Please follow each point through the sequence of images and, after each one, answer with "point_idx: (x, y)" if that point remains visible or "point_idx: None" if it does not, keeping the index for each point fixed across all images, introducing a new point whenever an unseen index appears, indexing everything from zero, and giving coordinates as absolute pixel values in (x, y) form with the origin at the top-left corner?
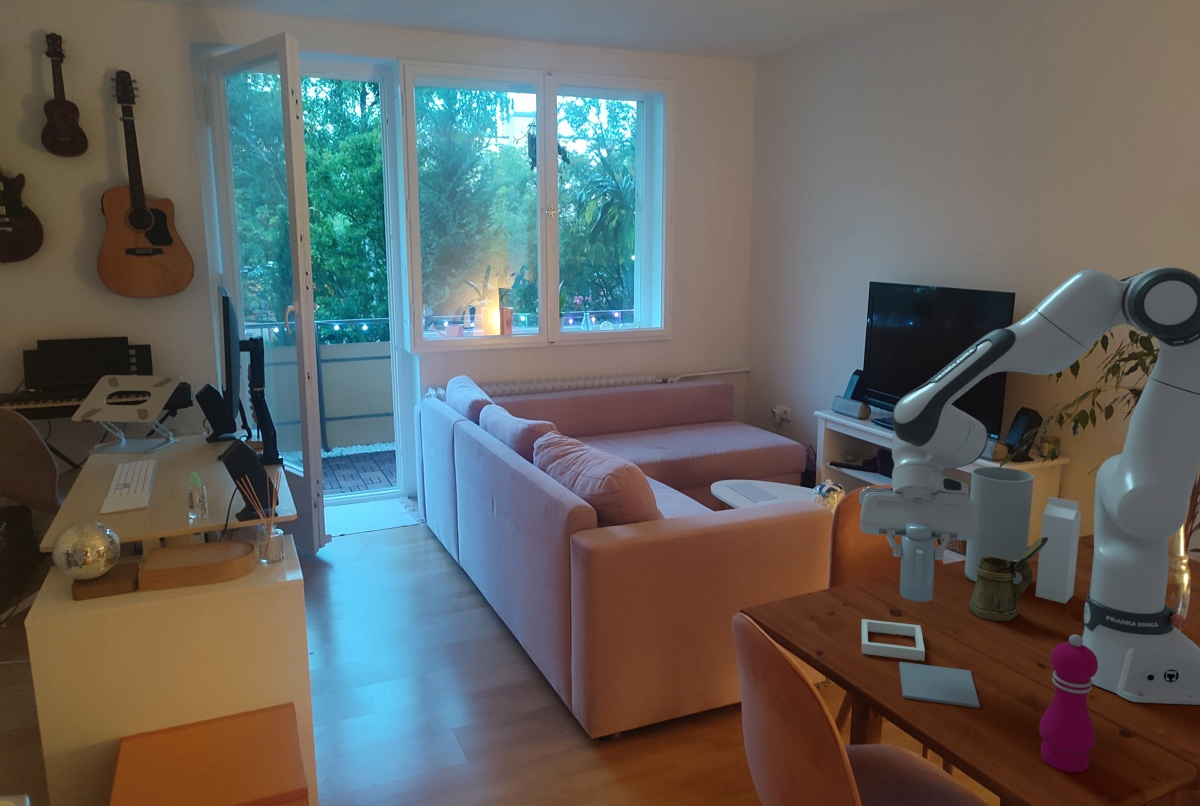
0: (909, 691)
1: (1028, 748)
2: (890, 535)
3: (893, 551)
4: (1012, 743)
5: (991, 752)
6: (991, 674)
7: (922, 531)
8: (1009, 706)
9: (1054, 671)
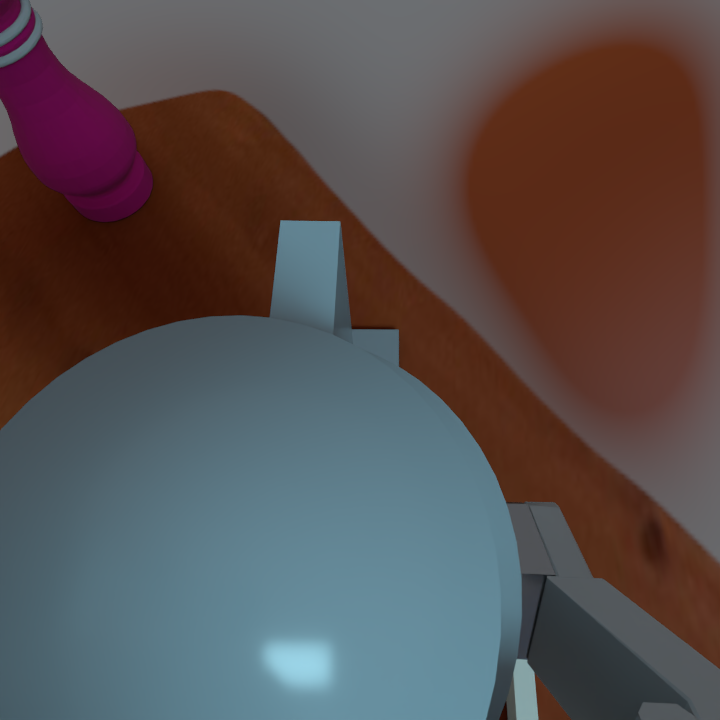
0: (381, 350)
1: (166, 208)
2: (702, 698)
3: (556, 506)
4: (192, 217)
5: (242, 180)
6: None
7: (190, 325)
8: None
9: (14, 24)
